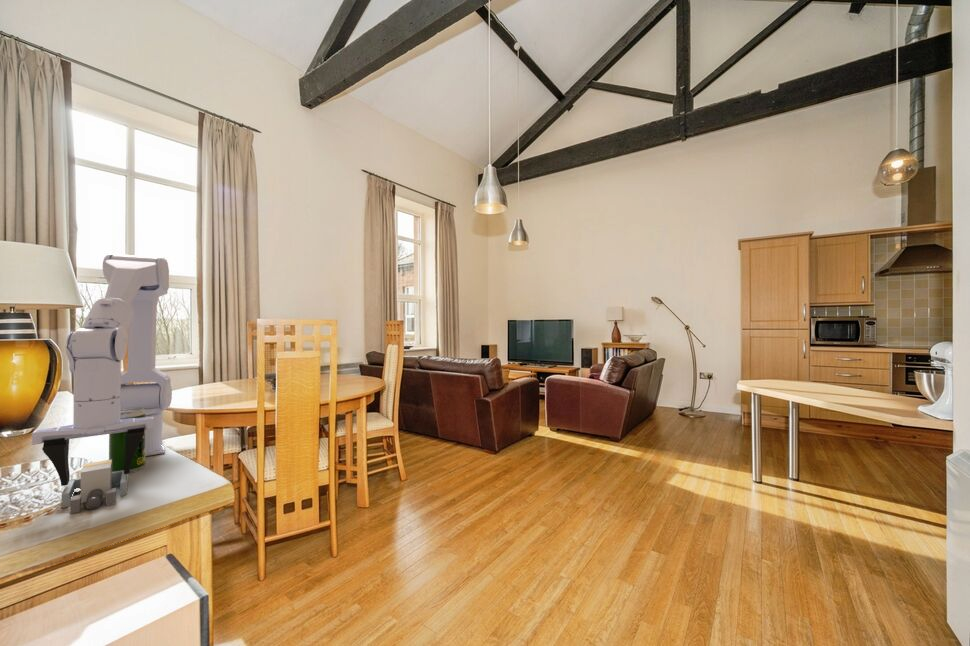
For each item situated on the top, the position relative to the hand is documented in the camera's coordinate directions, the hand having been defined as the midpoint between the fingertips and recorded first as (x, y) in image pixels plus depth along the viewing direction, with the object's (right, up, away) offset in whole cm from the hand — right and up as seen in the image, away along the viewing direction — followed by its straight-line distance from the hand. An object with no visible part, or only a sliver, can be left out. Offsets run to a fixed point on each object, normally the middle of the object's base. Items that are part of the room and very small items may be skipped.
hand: (97, 477), depth 67 cm
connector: (+2, -3, -2) cm, 4 cm away
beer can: (-5, -3, +11) cm, 12 cm away
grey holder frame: (+1, -3, -1) cm, 3 cm away
